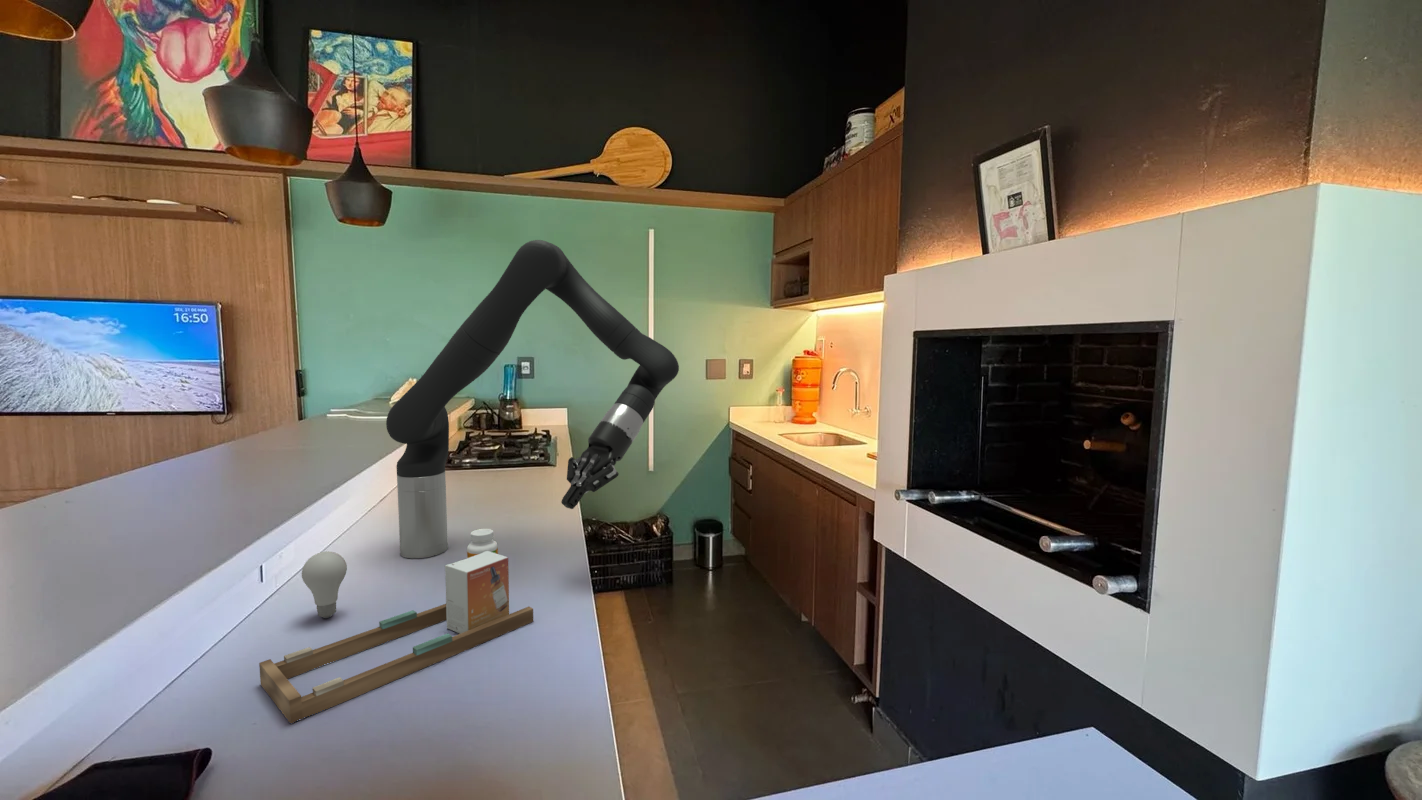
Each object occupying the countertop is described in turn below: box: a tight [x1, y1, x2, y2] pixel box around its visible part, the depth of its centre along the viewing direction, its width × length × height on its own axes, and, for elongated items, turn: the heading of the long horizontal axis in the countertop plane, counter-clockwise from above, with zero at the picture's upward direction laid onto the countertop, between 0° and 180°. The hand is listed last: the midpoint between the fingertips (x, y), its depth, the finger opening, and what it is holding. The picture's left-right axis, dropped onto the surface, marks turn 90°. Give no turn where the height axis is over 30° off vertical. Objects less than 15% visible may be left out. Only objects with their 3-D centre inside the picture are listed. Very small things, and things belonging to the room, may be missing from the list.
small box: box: [444, 551, 510, 634], centre depth 93 cm, size 8×6×10 cm
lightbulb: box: [301, 550, 348, 619], centre depth 94 cm, size 6×6×11 cm
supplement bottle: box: [466, 528, 499, 559], centre depth 109 cm, size 5×5×10 cm
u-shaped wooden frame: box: [258, 603, 534, 724], centre depth 85 cm, size 12×33×3 cm, turn 141°
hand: (566, 506), depth 105 cm, fingers closed
